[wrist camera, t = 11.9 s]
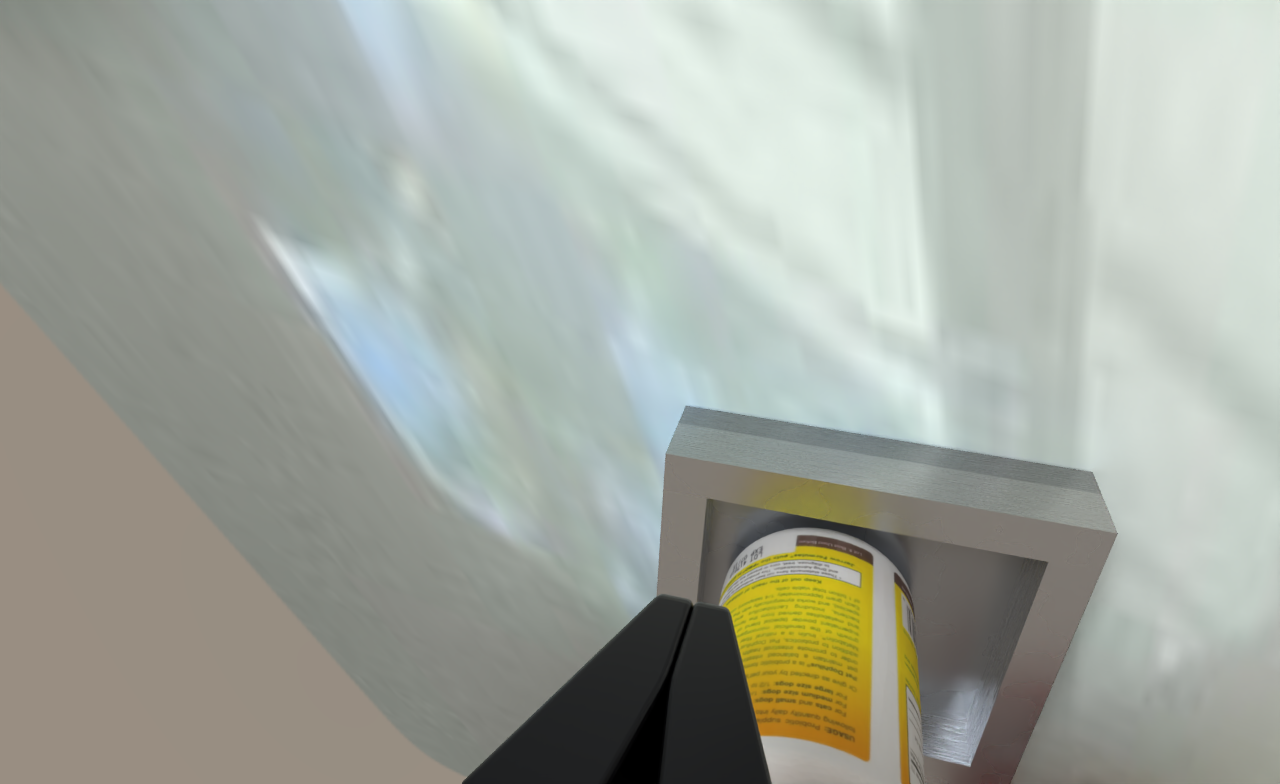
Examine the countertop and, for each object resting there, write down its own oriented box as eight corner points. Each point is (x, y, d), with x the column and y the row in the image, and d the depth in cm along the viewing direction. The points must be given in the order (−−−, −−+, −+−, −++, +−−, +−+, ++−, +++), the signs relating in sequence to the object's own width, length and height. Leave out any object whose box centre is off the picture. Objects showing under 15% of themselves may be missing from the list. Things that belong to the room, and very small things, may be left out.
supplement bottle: (689, 574, 25) (589, 905, 16) (824, 485, 22) (790, 829, 13) (810, 684, 26) (776, 1052, 17) (956, 611, 23) (1002, 1009, 14)
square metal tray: (1092, 472, 21) (1117, 533, 19) (991, 730, 26) (1002, 802, 24) (685, 405, 23) (666, 453, 21) (666, 655, 28) (649, 715, 26)
